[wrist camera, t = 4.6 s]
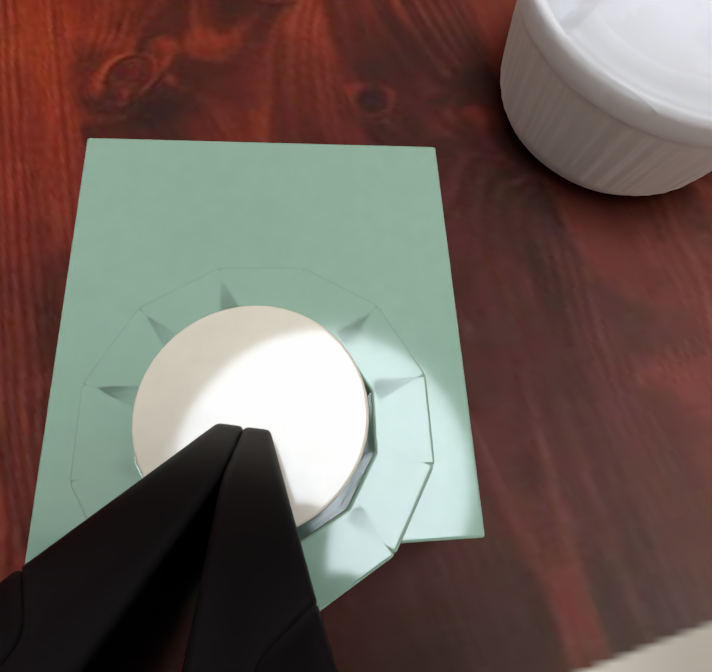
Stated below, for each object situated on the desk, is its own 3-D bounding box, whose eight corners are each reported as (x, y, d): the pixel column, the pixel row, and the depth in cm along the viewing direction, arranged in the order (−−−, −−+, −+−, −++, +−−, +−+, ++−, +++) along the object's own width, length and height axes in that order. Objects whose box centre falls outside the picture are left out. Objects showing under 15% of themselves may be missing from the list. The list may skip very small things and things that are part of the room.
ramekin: (479, -3, 23) (528, -144, 18) (704, 40, 23) (812, -85, 19) (470, 198, 19) (529, 91, 14) (739, 242, 20) (885, 154, 15)
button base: (443, 562, 15) (531, 600, 9) (94, 588, 14) (-55, 649, 8) (408, 218, 18) (455, 93, 13) (133, 216, 17) (51, 78, 12)
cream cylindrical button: (359, 524, 10) (376, 530, 8) (163, 537, 10) (118, 548, 7) (350, 344, 12) (362, 303, 9) (175, 347, 11) (140, 304, 9)
